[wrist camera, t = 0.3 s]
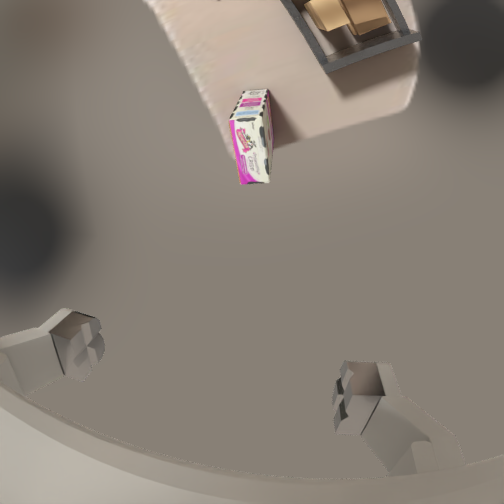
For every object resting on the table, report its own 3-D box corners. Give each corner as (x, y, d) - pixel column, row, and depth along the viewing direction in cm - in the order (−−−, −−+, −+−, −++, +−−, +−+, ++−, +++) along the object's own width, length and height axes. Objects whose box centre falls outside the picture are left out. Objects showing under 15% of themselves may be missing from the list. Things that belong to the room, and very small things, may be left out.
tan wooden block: (303, 4, 38) (309, 1, 29) (321, -3, 37) (332, -8, 28) (317, 28, 41) (327, 31, 32) (335, 20, 40) (350, 22, 30)
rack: (266, -19, 36) (264, -24, 31) (358, -53, 28) (368, -61, 23) (321, 67, 46) (326, 74, 41) (407, 35, 39) (422, 39, 34)
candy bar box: (241, 90, 51) (226, 118, 39) (268, 88, 50) (263, 115, 39) (249, 143, 59) (239, 186, 47) (274, 141, 58) (271, 184, 46)
